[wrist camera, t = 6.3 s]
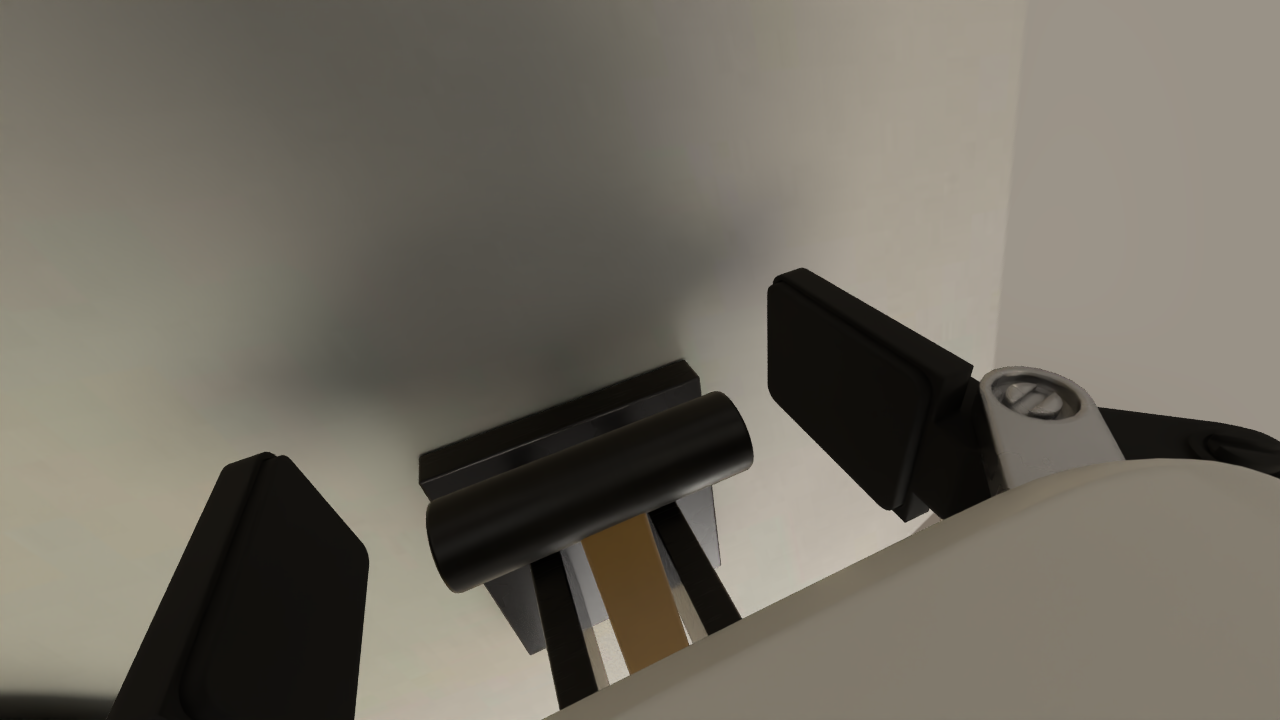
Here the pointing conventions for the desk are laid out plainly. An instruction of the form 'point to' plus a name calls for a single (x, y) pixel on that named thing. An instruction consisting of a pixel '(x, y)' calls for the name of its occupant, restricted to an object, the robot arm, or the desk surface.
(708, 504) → the switch bracket
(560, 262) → the desk surface
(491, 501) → the switch lever
